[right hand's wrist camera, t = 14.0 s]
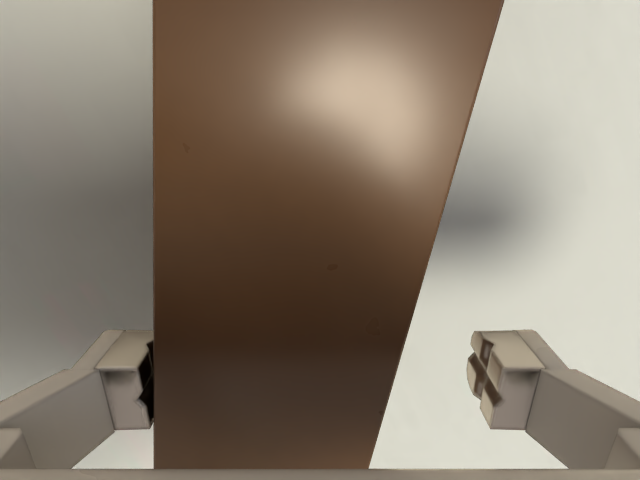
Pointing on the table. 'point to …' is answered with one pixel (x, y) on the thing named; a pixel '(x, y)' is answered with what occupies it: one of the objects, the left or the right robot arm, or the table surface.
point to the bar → (297, 215)
